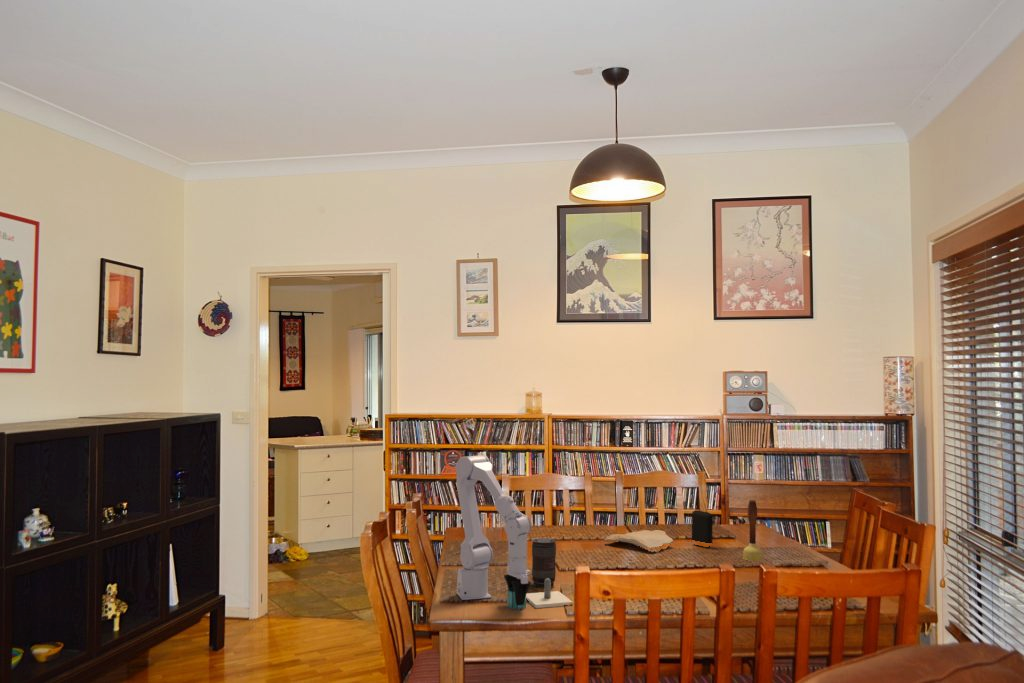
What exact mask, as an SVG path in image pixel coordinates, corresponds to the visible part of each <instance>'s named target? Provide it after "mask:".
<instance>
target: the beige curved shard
mask: <svg viewBox="0 0 1024 683" xmlns="http://www.w3.org/2000/svg"><path fill="white" fill-rule="evenodd" d="M603 541H604V542H608V541H620V542H619V543H628V544H632V545H635V546H637V547H639V546H640V547H639V548H641V547H646V548H655V547H659V546H662V545H663V544H670V543H672V544H674V540H673V538H671V537H670V536H669V535H668V534H666V532H665V530H659V529H654V530H649V529H647V530H646V529H641V530H640V531H639V530H638V531H632V532H627V533H626V534H619V533H617V534H616V533H615V534H614V533H613V534H611V535H608V536H605V538H604V539H603Z"/></svg>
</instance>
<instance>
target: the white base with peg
mask: <svg viewBox="0 0 1024 683" xmlns="http://www.w3.org/2000/svg"><path fill="white" fill-rule="evenodd" d="M551 590H552V587H551V580H550V579H549V578H546V579H545V581H544V588H543V592H542V591H541V592H529V593H528V592H527V593H526V599H527V600H528V601H529V602H528V601H527V600H526V601H527V602H528V603H529V604H530V605H532V607H534V608H535V609H541V608H554V607H565V606H564V605H565V604H568V603H573V602H574V601H572V600H571V599H569V597H567V596H566V595H564V594H563V593H562V592H560V590H554V591H551ZM573 604H574V603H573Z"/></svg>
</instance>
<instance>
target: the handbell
mask: <svg viewBox="0 0 1024 683" xmlns="http://www.w3.org/2000/svg"><path fill="white" fill-rule="evenodd" d="M747 520H748V524H749V544H748V545H747V546H746V547H744V548H743V550H742V553H743V554H742V556H743V557H742V559H745V560H749V561H760V560H763V552H762V549H761V548H760V547H758V545H757V544H756V543H757V542H756V540H757V539H756V536H757V535H756V530H757V528H756V527H757V526H756V524H757V520H758V506H757V501H756V500H754V499H749V501H748V507H747Z"/></svg>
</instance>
